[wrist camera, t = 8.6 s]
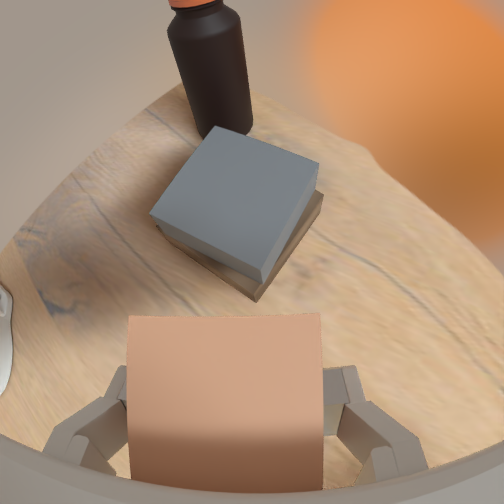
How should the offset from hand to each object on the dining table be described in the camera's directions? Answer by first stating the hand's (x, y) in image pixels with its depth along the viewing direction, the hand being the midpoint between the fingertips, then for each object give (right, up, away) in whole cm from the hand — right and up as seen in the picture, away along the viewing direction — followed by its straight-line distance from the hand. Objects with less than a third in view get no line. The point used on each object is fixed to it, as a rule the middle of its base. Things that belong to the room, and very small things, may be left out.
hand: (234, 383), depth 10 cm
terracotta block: (0, -2, +4) cm, 5 cm away
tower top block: (0, +8, +18) cm, 20 cm away
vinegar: (-3, +20, +26) cm, 33 cm away
